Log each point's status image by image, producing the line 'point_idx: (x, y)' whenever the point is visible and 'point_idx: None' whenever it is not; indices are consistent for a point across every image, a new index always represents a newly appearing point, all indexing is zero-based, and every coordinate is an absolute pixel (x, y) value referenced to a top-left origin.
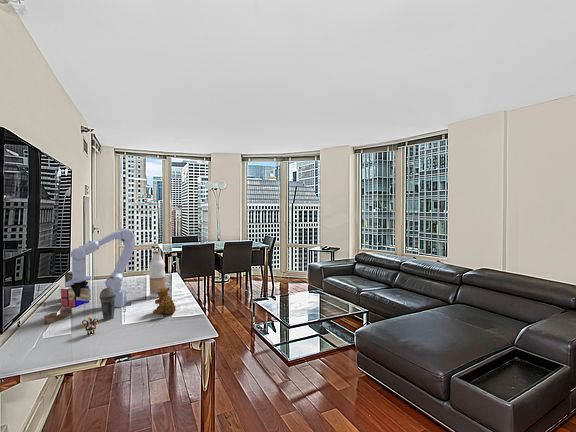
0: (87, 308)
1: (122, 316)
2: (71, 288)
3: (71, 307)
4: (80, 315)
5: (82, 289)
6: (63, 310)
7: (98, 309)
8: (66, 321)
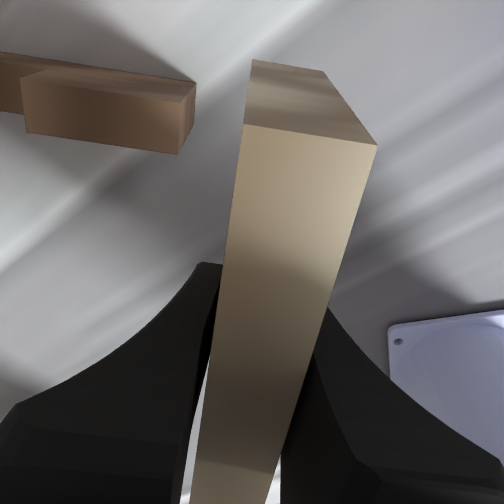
0: (414, 160)
1: (187, 495)
2: (227, 245)
3: (174, 151)
4: (177, 234)
5: (193, 484)
6: (37, 133)
7: (357, 292)
8: (3, 213)
